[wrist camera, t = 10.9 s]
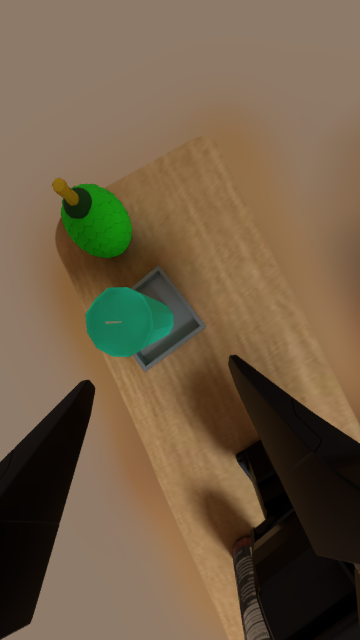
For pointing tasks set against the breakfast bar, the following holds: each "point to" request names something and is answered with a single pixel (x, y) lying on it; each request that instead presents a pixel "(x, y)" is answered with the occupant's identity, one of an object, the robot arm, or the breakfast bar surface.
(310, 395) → the breakfast bar surface
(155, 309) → the candle
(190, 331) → the tray
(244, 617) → the supplement bottle
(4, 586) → the robot arm
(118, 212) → the ornament
